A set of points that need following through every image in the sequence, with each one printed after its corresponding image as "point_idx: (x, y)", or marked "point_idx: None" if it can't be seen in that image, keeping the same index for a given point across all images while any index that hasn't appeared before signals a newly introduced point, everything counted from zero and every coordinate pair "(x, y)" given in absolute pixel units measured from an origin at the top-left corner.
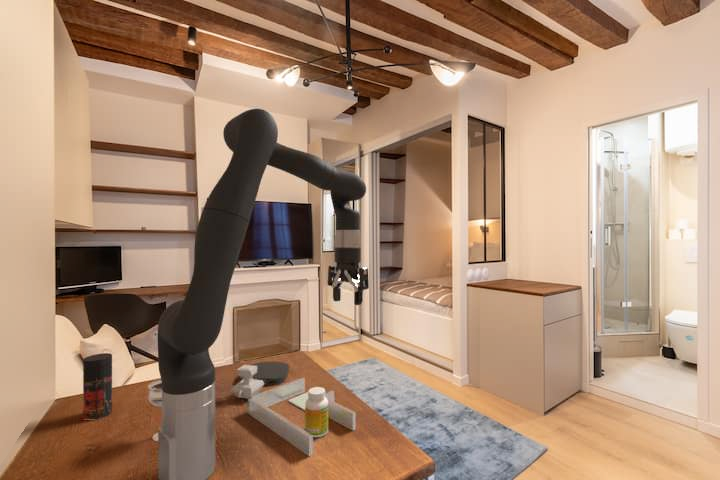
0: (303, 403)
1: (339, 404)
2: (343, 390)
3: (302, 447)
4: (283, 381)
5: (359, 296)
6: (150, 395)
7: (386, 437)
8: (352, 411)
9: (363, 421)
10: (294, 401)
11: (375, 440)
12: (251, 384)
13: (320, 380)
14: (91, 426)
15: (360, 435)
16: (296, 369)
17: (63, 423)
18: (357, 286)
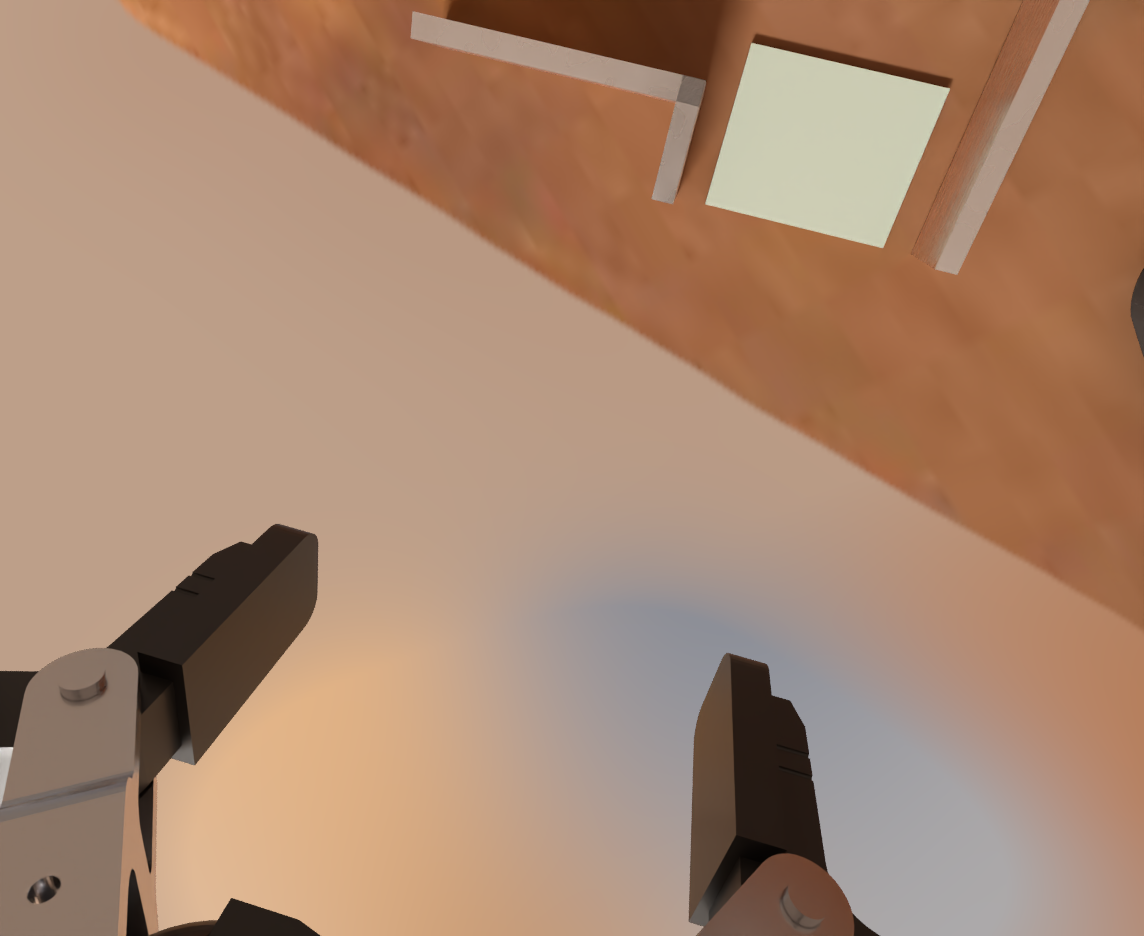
0: (830, 107)
1: (533, 66)
2: (707, 370)
3: None
4: (1135, 298)
5: (157, 610)
6: None
7: (299, 68)
8: (428, 34)
9: (452, 136)
10: (898, 95)
11: (320, 13)
12: None
13: (895, 419)
14: None
15: (394, 9)
16: (1137, 488)
17: None
18: (19, 739)
